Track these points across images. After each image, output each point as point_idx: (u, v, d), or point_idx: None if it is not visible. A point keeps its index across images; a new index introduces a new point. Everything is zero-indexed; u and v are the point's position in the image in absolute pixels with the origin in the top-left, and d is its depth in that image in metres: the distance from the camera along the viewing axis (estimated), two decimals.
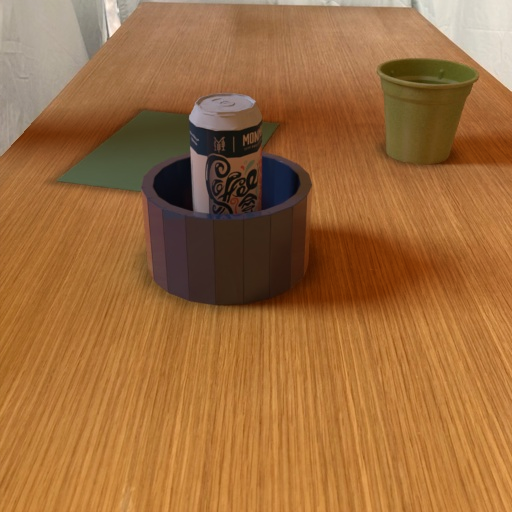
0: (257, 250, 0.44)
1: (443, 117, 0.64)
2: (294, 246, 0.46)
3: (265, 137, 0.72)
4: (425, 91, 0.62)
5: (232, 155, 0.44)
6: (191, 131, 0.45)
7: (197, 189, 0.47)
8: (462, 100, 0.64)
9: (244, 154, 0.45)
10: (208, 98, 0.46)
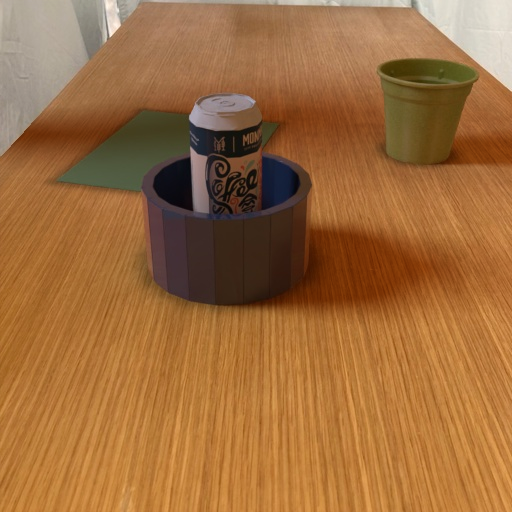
0: (257, 250, 0.44)
1: (443, 117, 0.64)
2: (294, 246, 0.46)
3: (265, 137, 0.72)
4: (425, 91, 0.62)
5: (232, 155, 0.44)
6: (191, 131, 0.45)
7: (197, 189, 0.47)
8: (462, 100, 0.64)
9: (244, 154, 0.45)
10: (208, 98, 0.46)
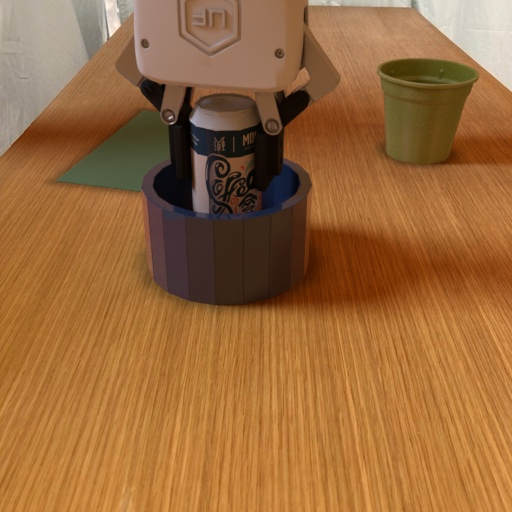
0: (257, 250, 0.44)
1: (443, 117, 0.64)
2: (294, 246, 0.46)
3: None
4: (425, 91, 0.62)
5: (232, 155, 0.44)
6: (191, 131, 0.45)
7: (197, 189, 0.47)
8: (462, 100, 0.64)
9: (244, 154, 0.45)
10: (208, 98, 0.46)
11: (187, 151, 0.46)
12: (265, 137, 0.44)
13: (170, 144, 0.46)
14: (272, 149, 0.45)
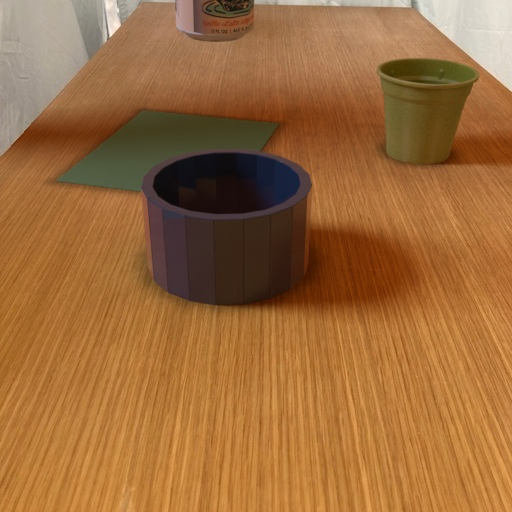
0: (257, 250, 0.44)
1: (443, 117, 0.64)
2: (294, 246, 0.46)
3: (265, 137, 0.72)
4: (425, 91, 0.62)
5: None
6: None
7: None
8: (462, 100, 0.64)
9: None
10: None
11: None
12: None
13: None
14: None
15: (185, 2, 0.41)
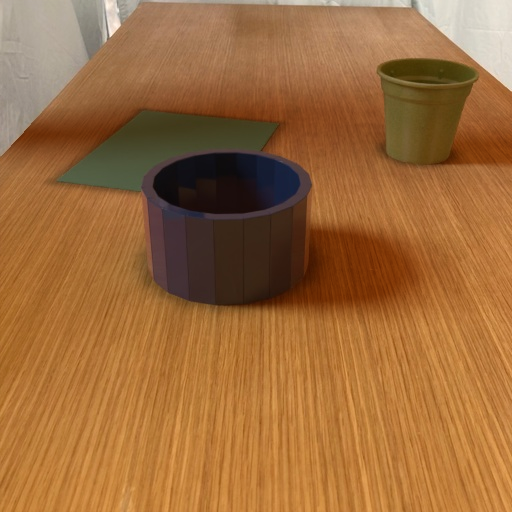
0: (257, 250, 0.44)
1: (443, 117, 0.64)
2: (294, 246, 0.46)
3: (265, 137, 0.72)
4: (425, 91, 0.62)
5: None
6: None
7: None
8: (462, 100, 0.64)
9: None
10: None
11: None
12: None
13: None
14: None
15: None
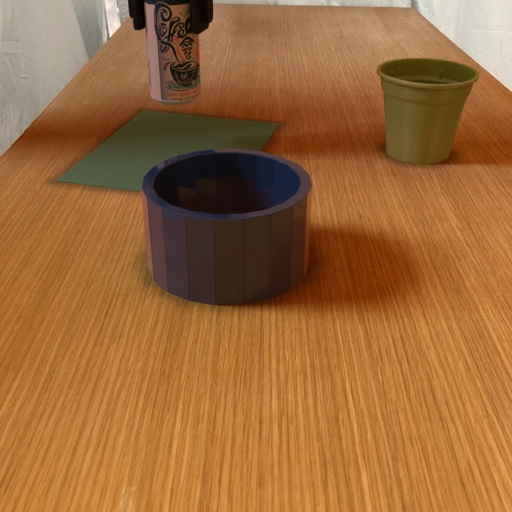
0: (257, 250, 0.44)
1: (443, 117, 0.64)
2: (294, 246, 0.46)
3: (265, 137, 0.72)
4: (425, 91, 0.62)
5: (173, 3, 0.60)
6: None
7: (149, 34, 0.62)
8: (462, 100, 0.64)
9: (182, 3, 0.60)
10: None
11: (141, 4, 0.62)
12: None
13: (128, 0, 0.62)
14: (203, 0, 0.60)
15: (155, 81, 0.64)
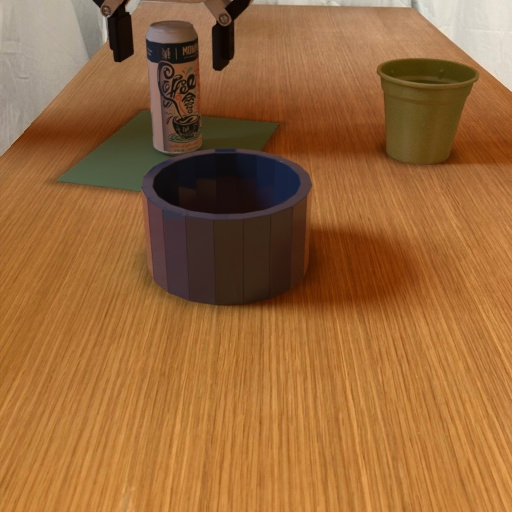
0: (257, 250, 0.44)
1: (443, 117, 0.64)
2: (294, 246, 0.46)
3: (265, 137, 0.72)
4: (425, 91, 0.62)
5: (175, 62, 0.62)
6: (147, 46, 0.63)
7: (152, 89, 0.65)
8: (462, 100, 0.64)
9: (184, 61, 0.63)
10: (159, 23, 0.64)
11: (120, 38, 0.64)
12: (219, 27, 0.60)
13: (109, 34, 0.64)
14: (225, 38, 0.61)
15: (158, 133, 0.66)
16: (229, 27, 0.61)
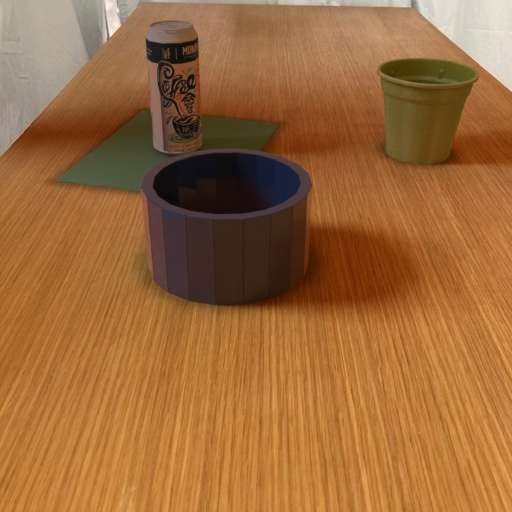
0: (257, 250, 0.44)
1: (443, 117, 0.64)
2: (294, 246, 0.46)
3: (265, 137, 0.72)
4: (425, 91, 0.62)
5: (175, 62, 0.62)
6: (147, 46, 0.63)
7: (152, 89, 0.65)
8: (462, 100, 0.64)
9: (184, 61, 0.63)
10: (159, 23, 0.64)
11: None
12: None
13: None
14: None
15: (158, 133, 0.66)
16: None
